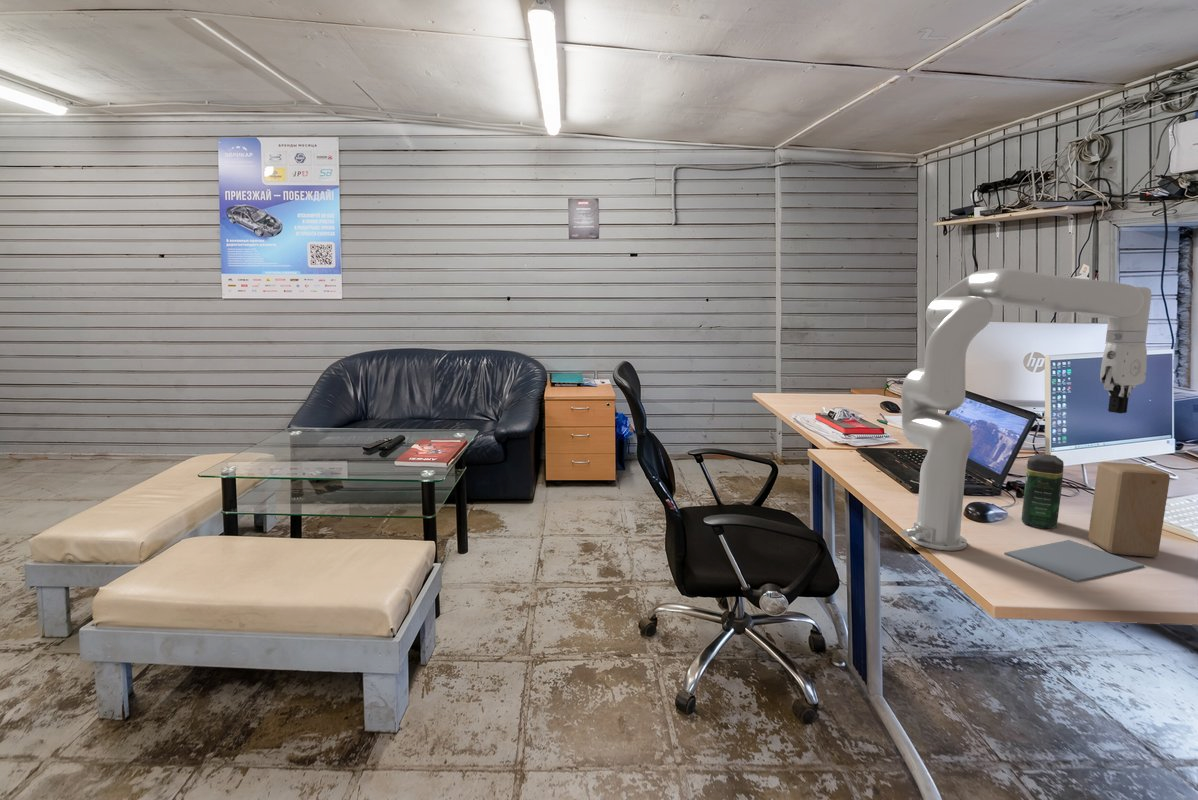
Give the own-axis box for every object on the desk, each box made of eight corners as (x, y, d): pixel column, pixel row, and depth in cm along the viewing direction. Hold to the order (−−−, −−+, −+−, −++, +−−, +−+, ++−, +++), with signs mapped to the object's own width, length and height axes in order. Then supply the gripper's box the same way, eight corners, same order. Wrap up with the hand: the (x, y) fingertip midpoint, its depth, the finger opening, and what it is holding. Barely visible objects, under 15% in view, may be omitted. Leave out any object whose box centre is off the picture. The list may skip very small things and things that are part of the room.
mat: (1076, 582, 131) (1076, 580, 131) (1004, 554, 146) (1004, 552, 146) (1143, 566, 138) (1144, 564, 138) (1068, 541, 153) (1069, 539, 153)
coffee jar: (1056, 531, 159) (1064, 461, 157) (1019, 525, 164) (1026, 457, 162) (1058, 521, 167) (1065, 454, 164) (1023, 515, 172) (1029, 450, 169)
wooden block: (1160, 558, 142) (1173, 473, 139) (1110, 554, 144) (1122, 470, 141) (1132, 543, 151) (1143, 463, 149) (1085, 539, 153) (1096, 460, 150)
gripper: (1123, 339, 145) (1114, 417, 148) (1163, 338, 150) (1154, 412, 153) (1088, 338, 152) (1080, 412, 155) (1128, 336, 157) (1119, 408, 160)
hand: (1117, 412), depth 154 cm, fingers closed
